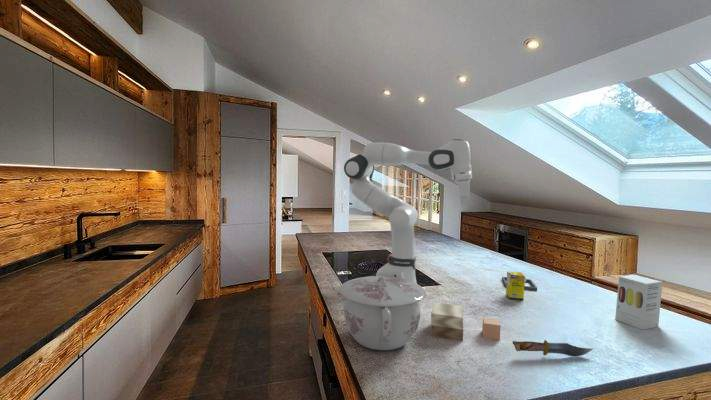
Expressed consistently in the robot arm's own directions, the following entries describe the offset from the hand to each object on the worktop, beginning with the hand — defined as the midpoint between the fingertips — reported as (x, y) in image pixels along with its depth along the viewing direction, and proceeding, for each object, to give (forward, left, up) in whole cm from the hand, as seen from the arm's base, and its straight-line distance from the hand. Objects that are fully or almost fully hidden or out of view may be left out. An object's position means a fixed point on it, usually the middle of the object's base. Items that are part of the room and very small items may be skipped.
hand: (464, 206), depth 148 cm
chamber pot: (-26, -54, -40) cm, 72 cm away
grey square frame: (+28, +22, -40) cm, 54 cm away
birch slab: (-5, -41, -36) cm, 55 cm away
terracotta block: (+9, -40, -40) cm, 57 cm away
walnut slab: (-5, -42, -40) cm, 58 cm away
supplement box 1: (+23, +2, -40) cm, 46 cm away
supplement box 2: (+62, -12, -40) cm, 75 cm away
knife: (+25, -48, -40) cm, 67 cm away
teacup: (+27, +22, -40) cm, 54 cm away
